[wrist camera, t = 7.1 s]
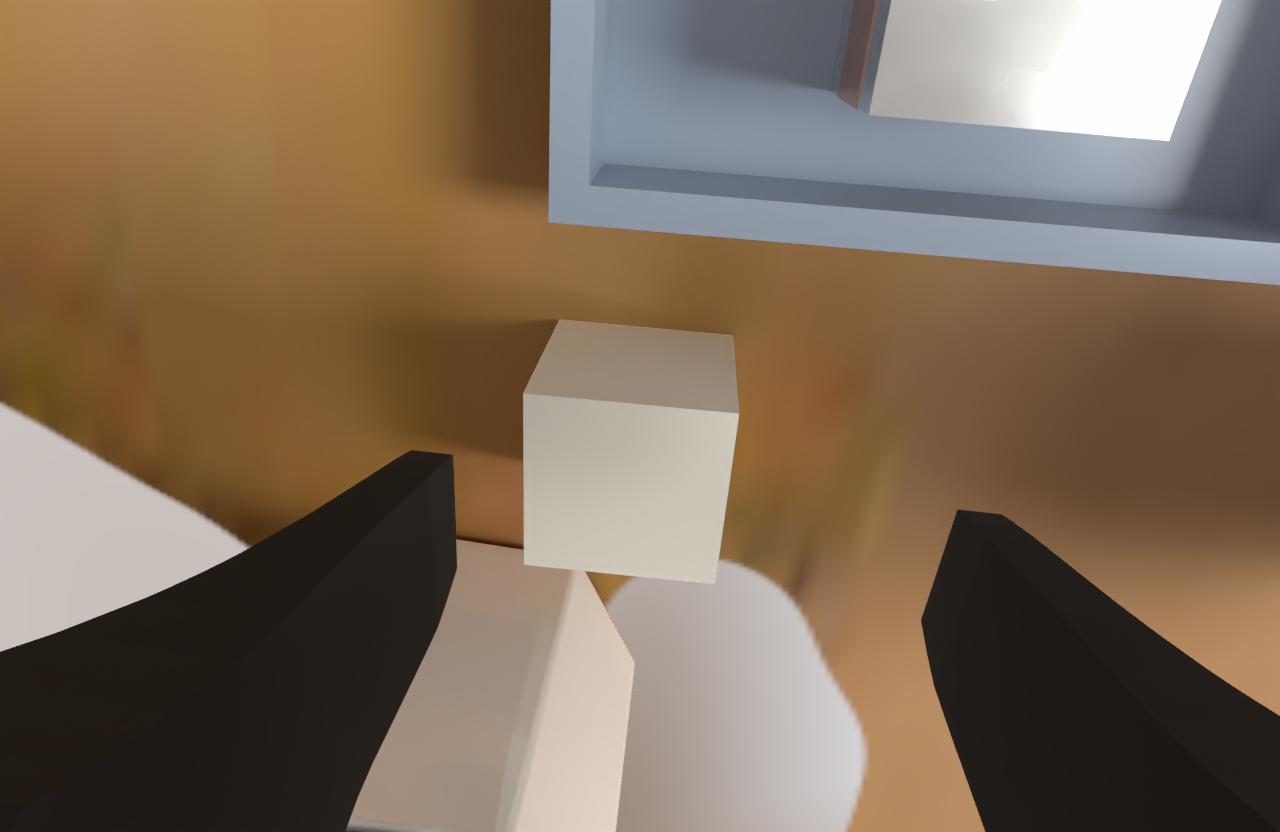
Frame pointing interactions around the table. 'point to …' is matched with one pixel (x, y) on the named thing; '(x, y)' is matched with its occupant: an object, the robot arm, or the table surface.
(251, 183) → the table surface
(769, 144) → the tote
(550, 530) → the white cube
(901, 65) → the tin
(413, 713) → the jar
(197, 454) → the table surface
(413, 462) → the robot arm
